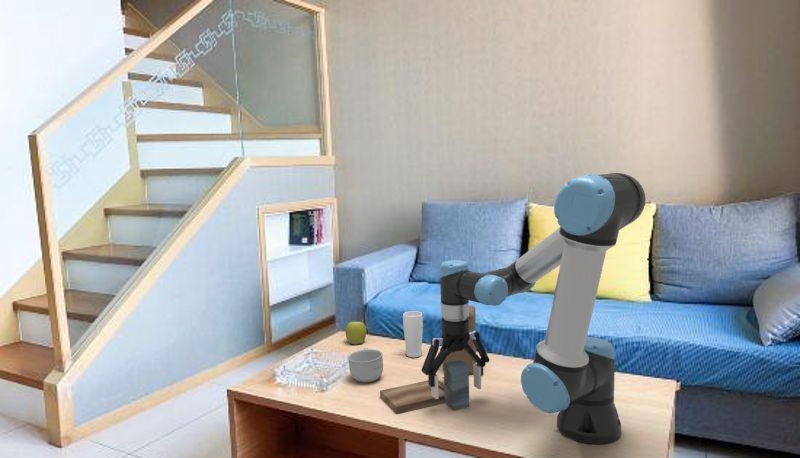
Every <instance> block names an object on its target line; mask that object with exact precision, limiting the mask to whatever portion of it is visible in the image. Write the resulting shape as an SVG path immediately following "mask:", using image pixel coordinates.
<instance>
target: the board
mask: <svg viewBox="0 0 800 458" xmlns="http://www.w3.org/2000/svg"><path fill="white" fill-rule="evenodd" d="M441 377H442V378H443V379H444V376H441ZM438 394H439V399H435V398H434V397H433V396H432V392H431V386H429V382H428V379H427V380H424V381H419V382H414V383H409V384H404V385H399V386H395V387H389V388H386V389H381V390H379V395H380V396H379V397H380V399H381V400H382V401H384V403H386V404H387V406H388V407H389V408H390V409H391V410H392V411H393V412H394V413H395V414H397V415H399V414H402V413H407V412H411V411H415V410H419V409H424V408H428V407H433V406H437V405H441V404H445V394H444V389H443V388H442V387H441V386H439V385H438Z"/></svg>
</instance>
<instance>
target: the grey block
mask: <svg viewBox="0 0 800 458" xmlns="http://www.w3.org/2000/svg"><path fill="white" fill-rule="evenodd" d="M436 375H438V385H439V386H441V387H442V388H443V389H444V394H445V403H444V404H445V405H446V406H447V407H448V408H450V409H451V410H452V411H457V410H462V409H465V408H470V374H469V365H468V364H466V363H465V362H463V361H462V360H460V359H457V360H452V361H447V362H444V371H443V376H441V375H439V374H437V373H436ZM442 377H444V379H443V378H442Z"/></svg>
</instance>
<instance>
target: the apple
mask: <svg viewBox="0 0 800 458" xmlns="http://www.w3.org/2000/svg"><path fill="white" fill-rule="evenodd" d="M352 320H353V321H349V323H347V325H346V327H345V337H346V340H347V342H348V343H349V344H350V345H359V344H363V343H364V342H365V340H366V338H367V337H366V336H367V327H366V325H365V323H364V322H363V321H356V320H355V319H354V318H353V317H352Z"/></svg>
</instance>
